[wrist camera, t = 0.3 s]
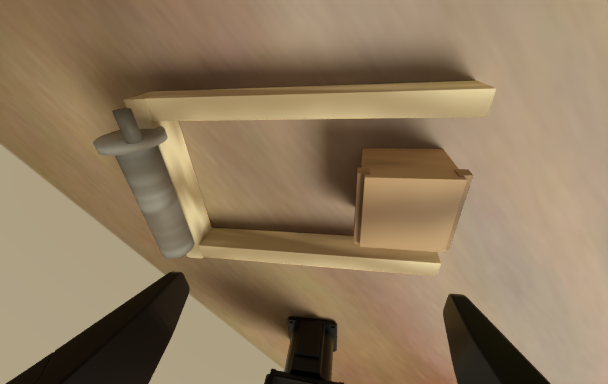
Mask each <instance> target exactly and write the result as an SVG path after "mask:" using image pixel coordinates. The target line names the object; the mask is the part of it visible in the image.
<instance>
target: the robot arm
mask: <svg viewBox="0 0 608 384" xmlns="http://www.w3.org/2000/svg"><path fill="white" fill-rule="evenodd" d="M188 294H189V285H188V283H187V281H186V278H185V276H184V274H183V273H182V272H169V273H168V274H166V275H165V276H163V277H162V278H160V279H159V280H158V281H156V282H155V283H153V284H152V285H150V286H149V287H147V288H146V289H144V290H143V291H141V292H140V293H139V294H137V295H136V296H134V297H133V298H131V299H130V300H128V301H127V302H125V303H124V304H123V305H121V306H120V307H118V308H117V309H115V310H114V311H112V312H111V313H109V314H108V315H106V316H105V317H103V318H102V319H101V320H99V321H98V322H96V323H95V324H93V325H92V326H90V327H89V328H87V329H86V330H85V331H83V332H82V333H80V334H79V335H77V336H76V337H74V338H73V339H71V340H70V341H68V342H67V343H66V344H64V345H63V346H61V347H60V348H58V349H57V350H55V352H54V353H51V354H50V355H48V356H46V357H45V358H44V359H42V360H41V361H39V362H38V363H36V364H35V365H33V366H32V367H30V368H29V369H28V370H26V371H24V372H23V373H21V374H20V375H18V376H17V377H15V378H14V379H12V380H11V381H9V382H7V383H6V384H148V383H149V381H150V379H151V377H152V375H153V373H154V371H155V369H156V367H157V365H158V363H159V361H160V359H161V357H162V355H163V353H164V351H165V349H166V347H167V345H168V343H169V341H170V339H171V337H172V334H173V332H174V330H175V327H176V325H177V322H178V320H179V317H180V315H181V312H182V309H183V307H184V304H185V302H186V299H187V297H188ZM443 317H444V323H445V328H446V333H447V338H448V343H449V348H450V353H451V358H452V363H453V367H454V372H455V375H456V379H457V382H458V384H550V382H549V381H548V380H547V379H546V378H545V377H544V376H543V375H542V374H541V373H540V372H539V371H538V370H537V369H536V368H535V367H534V366H533V365H532V364H531V363H530V362H529V361H528V360H527V359H526V358H525V357H524V356H523V355H522V354H521V353H520V352H519V350H518V349H517V348H516V347H515V346H514V345H513V344H512V343H511V342H510V341H509V340H508V339H507V338H506V337H505V336H504V335H503V334H502V333H501V332H500V331H499V330H498V329H497V328H496V327H495V326H494V325H493V324H492V323H491V322H490V321H489V320H488V318H487V317H486V316H485V315H484V314H483V313H482V312H481V311H480V310H479V309H478V308H477V307H476V306H475V305H474V304H473V303H472V302H471V301H470V300H469V299H468V298H467V297H466V296H464V295H461V294H449V295H448V298H447V301H446V304H445V307H444V310H443ZM288 328H289V334H290V345H289V350H288V355H287V360H286V365H285V370H284V372H282V371H277V370H275V369H271V372H270V374H267V376H266V379H265V383H264V384H344V383H342V382H339V383H338V382H332V381H331V375H332V359H333V352H335V351H336V350H337V323H335V322H330V321H321V320H313V319H304V318H295V317H289V318H288Z"/></svg>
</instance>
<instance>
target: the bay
mask: <svg viewBox="0 0 608 384" xmlns="http://www.w3.org/2000/svg"><path fill="white" fill-rule="evenodd" d="M495 91H496V88H494V87H491V86H489V85H486V84H484V83H481V82H479V81H447V82H417V83H388V84H358V85H329V86H299V87H270V88H240V89H210V90H181V91H151V92H148V93H144V94H141V95H138V96H134V97H131V98H127V99H124V100H123V101H124V103H125V106H126V108H123V109H118V110H114V111H112V112H113V114H114V116H115V119H116V121H117V123H118V125H119V128H120V130H118V131H114V132H111V133H108V134H106V135H103V136H101V137H99V138H97V139H96V140H95V141H94V142H93V144H94V146H95V148H96V150H97V152H98V153H99V154H101V155H107V156H115V157H116V159H117V161H118V163H119V165H120V167H121V169H122V171H123V173H124V176H125V178H126V180H127V182H128V184H129V186H130V188H131V190H132V192H133V194H134V196H135V199H136V201H137V203H138V205H139V207H140V209H141V211H142V213H143V215H144V217H145V219H146V221H147V224H148V226H149V228H150V230H151V232H152V234H153V236H154V238H155V240H156V242H157V244H158V246H159V249H160V251H161V253H162V255H163V256H164V257H165V258H168V259H174V258H179V257H181V256H184V255H185V254H187V257H190V258H203V257H209V258H221V259H233V260H245V261H257V262H270V263H282V264H294V265H306V266H318V267H331V268H343V269H355V270H367V271H379V272H392V273H404V274H416V275H428V276H437V275H438V271H439V268H440V265H441V262H440V259H439V257H438V254H437V252H429V251H414V250H399V249H385V248H370V247H360V244H354V236H344V235H328V234H311V233H295V232H279V231H262V230H246V229H230V228H213V227H211V223H210V220H209V217H208V214H207V211H206V208H205V204H204V201H203V198H202V195H201V192H200V189H199V185H198V182H197V179H196V176H195V173H194V170H193V166H192V163H191V160H190V157H189V154H188V151H187V147H186V144H185V141H184V138H183V135H182V132H181V128H180V125H179V122H178V121H205V120H285V119H365V118H445V117H487V116H488V113H489V110H490V107H491V104H492V100H493V97H494V94H495Z"/></svg>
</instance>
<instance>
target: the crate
mask: <svg viewBox="0 0 608 384" xmlns="http://www.w3.org/2000/svg"><path fill="white" fill-rule="evenodd" d="M472 178H473V175H472V173H471V172H470V171H469V170H465V169H458V168H457V166H456V165H455V164H454V162H453V161H452V160H451V159H450V157H449V156H448V155H447V153H446V152H445V151H444V150H443V149H381V148H362V161H361V168H357V185H356V202H355V220H354V244H360V247H370V248H385V249H399V250H414V251H429V252H445V250H449V248H450V245H451V242H452V239H453V236H454V233H455V230H456V227H457V224H458V221H459V218H460V214H461V211H462V208H463V205H464V202H465V199H466V196H467V193H468V190H469V187H470V184H471V181H472Z"/></svg>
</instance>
